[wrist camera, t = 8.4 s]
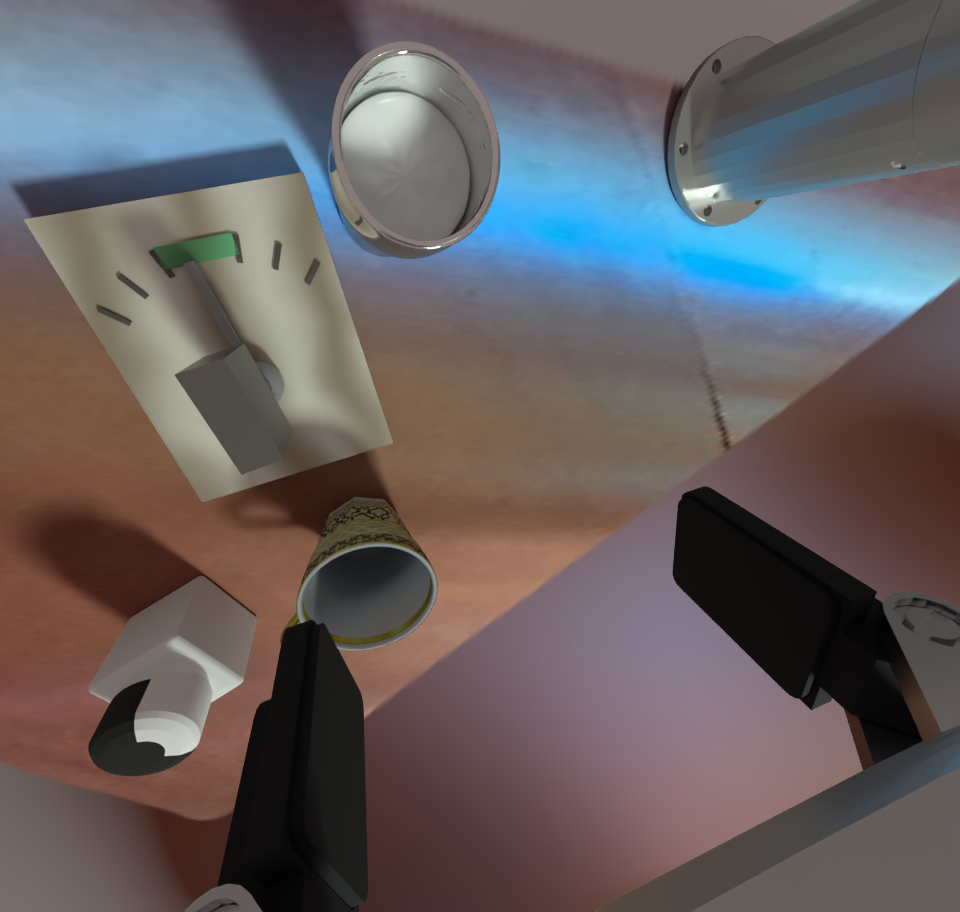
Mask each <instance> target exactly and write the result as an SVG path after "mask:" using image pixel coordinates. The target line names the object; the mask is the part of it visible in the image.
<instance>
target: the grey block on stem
mask: <svg viewBox="0 0 960 912" xmlns="http://www.w3.org/2000/svg"><path fill="white" fill-rule="evenodd" d="M183 265H184V267H185V269H186V271H187V272H188V274H189V276H190V277H191V279H192V281H193V283H194V284H195V286H196V288H197V289H198V291H199V293H200V295H201V296H202V298H203V300H204V302H205V303H206V305H207V307H208V308H209V310H210V312H211V314H212V315H213V317H214V319H215V321H216V322H217V324H218V326H219V327H220V329H221V331H222V333H223V334H224V336H225V338H226V340H227V341H228V343H229V345H230V346H231V348H229V349H226V350H223V351H220V352H217V353H214V354H211V355H208V356H205V357H203V358H201V359H199V360H198V361H196V362H195V363H193V364H191V365H190V366H188V367H186V368H185V369H183V370H182V371H180V372H178V373H177V374H175V377H176V378H177V380H178V381H179V383H180V384H181V386H182V387H183V389H184V390H185V392H186V393H187V395H188V396H189V398H190V399H191V401H192V402H193V403H194V405H195V406H196V408H197V409H198V411H199V412H200V414H201V415H202V417H203V418H204V420H205V421H206V423H207V424H208V426H209V427H210V429H211V430H212V432H213V433H214V435H215V436H216V438H217V439H218V441H219V442H220V444H221V445H222V447H223V448H224V450H225V451H226V453H227V454H228V456H229V457H230V459H231V460H232V462H233V463H234V464H235V466H236V467H237V469H238V470H239V472H240V473H241V475H243V474H245V473H248V472H251V471H253V470H256V469H259V468H261V467H264V466H267V465H269V464H272V463H274V462H277V461H280V460H282V459H284V457H285V453H286V450H287V447H288V443H289V440H290V436H291V433H292V430H293V429H292V428H291V426H290V424H289V422H288V420H287V419H286V417H285V415H284V413H283V411H282V410H281V408H280V406H279V404H278V402H279V400H280V399H281V397H282V394H283V392H284V388H285V384H284V379H283V377H282V375H281V373H280V372H279V371H278V370H277V369H276V368H275V367H274V366H272V365H271V364H269V363H266V362H263V361H254V360H253V358H252V356H251V354H250V353H249V351H248V349H247V347H246V345H245V344H242V343H241V341H240V339H239V337H238V336H237V334H236V332H235V330H234V329H233V327H232V325H231V323H230V321H229V320H228V318H227V316H226V314H225V313H224V311H223V309H222V307H221V306H220V304H219V302H218V300H217V298H216V297H215V295H214V293H213V291H212V290H211V288H210V286H209V284H208V282H207V281H206V279H205V277H204V275H203V274H202V272H201V270H200V268H199V266H198V265H197V263H196V261H191V262H187V263H184V264H183Z"/></svg>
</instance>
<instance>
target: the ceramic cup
mask: <svg viewBox="0 0 960 912" xmlns="http://www.w3.org/2000/svg"><path fill="white" fill-rule="evenodd" d="M436 596H437V578H436V575H435V572H434V570H433V568H432V566H431V564H430V562H429V560H428V558H427V557H426V555H425V554H424V552H423V551H422V549H421V548H420V546H419V545H418V544H417V543H416V541H415V540H414V539H413V538H412V536H411V535H410V533H409V532H408V530H407V529H406V527H405V525H404V523H403V522H402V520H401V519H400V517H399V516H398V515H397V513H396V512H395V511H394V510H393V509H392V508H391V507H390V505H389V504H388V503H387V502H386V501H385V500H384V499H378V498H365V497H354V498H352V499H350V500H349V501H347V502H346V503H344V504H343V505H341V506H340V507H338V508H337V509H335V510H334V511H333V512H331V513H330V514H329V516H328V518H327V521H326V524H325V527H324V529H323V532H322V534H321V537H320V539H319V542H318V545H317V547H316V549H315V551H314V553H313V554H312V557H311V559H310V561H309V564H308V566H307V569H306V571H305V574H304V576H303V580H302V583H301V586H300V589H299V592H298V596H297V604H296V608H297V612H296V613H295V615H294V616H293V617H292V618H291V620H290V621H289V622H288V624H287V625H286V627H285V628H284V630H283V632H282V635H281V638H280V642H281V644H282V638H283V634H284V631H285V629H286V628H288V627H291V626H294V625H296V624H297V623H298V622H299V621H300V623H303V622H306V621H309V620H314V621H315V622H316V624H317V625H318V624H320V623H324V624H325V625H326V627H327V629H328V631H329V633H330V635H331V637H332V639H333V640H334V642H335V644H336V646H337V648H338V650H345V651H364V650H371V649H376V648H380V647H383V646H386V645H389V644H391V643H394V642H396V641H398V640H400V639H402V638H403V637H405V636H407V635H408V634H410V633H411V632H412V631H414V630H415V629H416V628H417V627H418V626H419V625H420V624H421V623H422V622H423V621H424V620H425V618H426V617H427V616H428V614H429V613H430V611H431V609H432V607H433V605H434V603H435V600H436Z"/></svg>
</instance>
